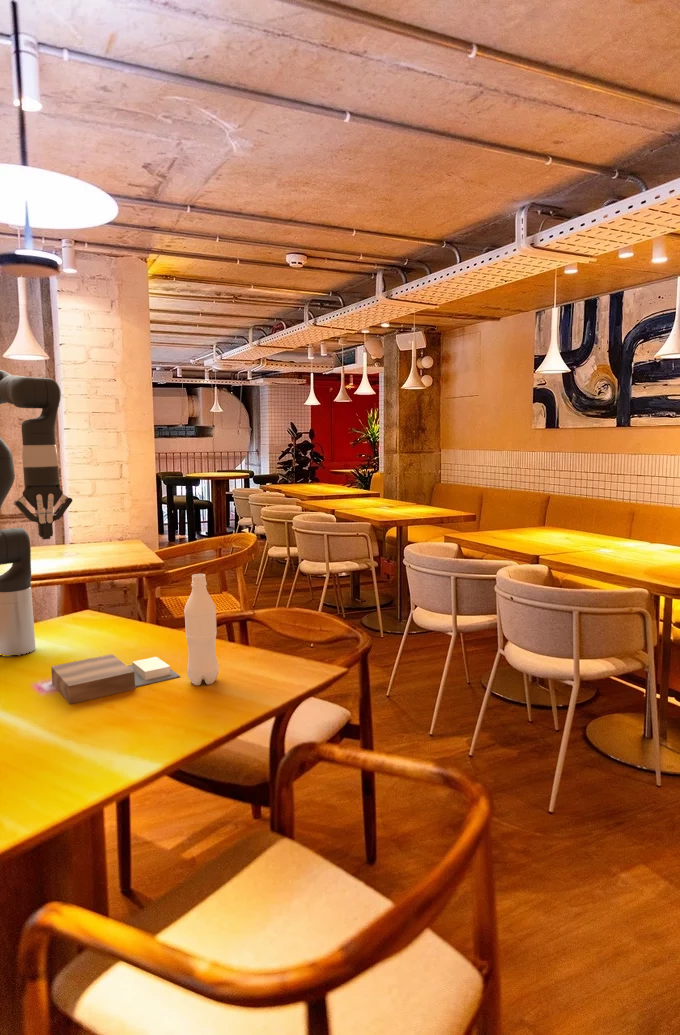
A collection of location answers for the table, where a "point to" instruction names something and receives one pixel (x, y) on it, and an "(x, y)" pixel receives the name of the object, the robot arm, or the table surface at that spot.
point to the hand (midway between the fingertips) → (46, 538)
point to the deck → (92, 678)
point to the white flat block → (151, 668)
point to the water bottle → (201, 633)
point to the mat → (141, 681)
